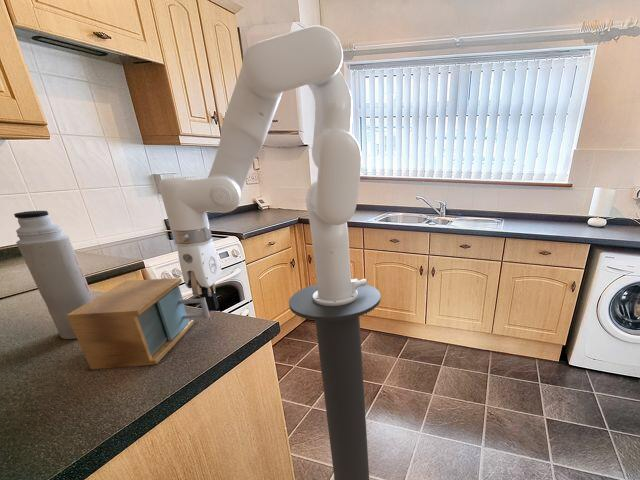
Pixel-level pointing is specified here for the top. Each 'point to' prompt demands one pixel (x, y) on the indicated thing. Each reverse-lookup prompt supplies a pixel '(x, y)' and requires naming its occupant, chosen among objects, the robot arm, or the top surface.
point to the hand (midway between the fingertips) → (211, 309)
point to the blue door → (178, 311)
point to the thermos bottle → (53, 267)
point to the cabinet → (125, 325)
